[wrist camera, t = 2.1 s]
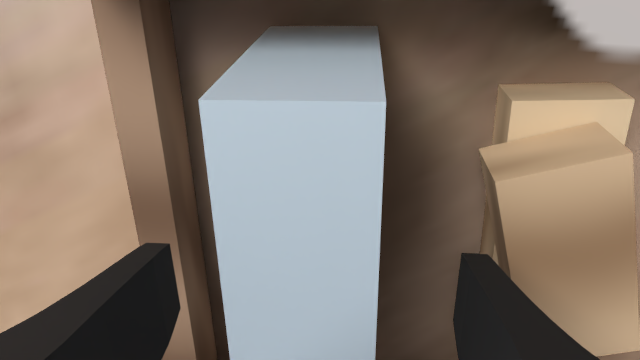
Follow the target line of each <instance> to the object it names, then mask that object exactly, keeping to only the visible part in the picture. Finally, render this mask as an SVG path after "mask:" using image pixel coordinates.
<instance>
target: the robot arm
mask: <svg viewBox="0 0 640 360" xmlns="http://www.w3.org/2000/svg"><path fill="white" fill-rule="evenodd" d="M180 309H181V307H180V301H179V295H178V289H177V283H176V277H175V271H174V266H173V260H172V254H171V248H170V243H145V244H143V245H142V246H140V247H138V248H137V249H135V250H134V251H132V252H131V253H129V254H128V255H126V256H125V257H123V258H122V259H120V260H119V261H118V262H116V263H115V264H113V265H112V266H110V267H109V268H108V269H106V270H105V271H103V272H102V273H100V274H99V275H97V276H96V277H94V278H93V279H91V280H90V281H88V282H87V283H86V284H84V285H83V286H81V287H80V288H78V289H76V290H75V291H73V292H72V293H70V294H68V295H67V296H65V297H64V298H62V299H60V300H59V301H57V302H56V303H54V304H52V305H51V306H49V307H48V308H46V309H44V310H43V311H41V312H39V313H38V314H36V315H34V316H32V317H30V318H29V319H27V320H25V321H23V322H21V323H19V324H18V325H16V326H14V327H12V328H10V329H8V330H6V331H4V332H2V333H0V360H162V358H163V356H164V354H165V351H166V349H167V347H168V345H169V342H170V340H171V337H172V334H173V331H174V328H175V325H176V322H177V318H178V315H179V312H180ZM453 322H454V330H455V338H456V345H457V352H458V358H459V360H600V359H598V358H597V357H596V356H594V355H593V354H592V353H590V352H589V351H588V350H586V349H585V348H584V347H583V346H581V345H580V344H579V343H578V342H576V341H575V340H574V339H573V338H572V337H570V336H569V335H568V334H567V333H566V332H565V331H564V330H562V329H561V328H560V327H559V326H558V325H557V324H556V323H555V322H553V321H552V320H551V319H550V318H549V317H548V316H547V315H546V314H545V313H544V312H543V311H542V310H541V309H540V308H538V307H537V306H536V305H535V304H534V303H533V302H532V301H531V300H530V299H529V298H528V297H527V296H526V295H525V293H524V292H523V291H522V290H521V289H520V288H519V287H518V286H517V285H516V284H515V283H514V282H513V281H512V280H511V279H510V278H509V277H508V275H507V274H506V273H505V272H504V271H503V270H502V269H501V268H500V267H499V266H498V265H497V263H496V262H495V261H494V260H493V259H492V258H491V257H490V256H489V255H488V254H469V253H462V255H461V263H460V271H459V278H458V286H457V294H456V302H455V310H454V318H453Z"/></svg>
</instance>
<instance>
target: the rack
mask: <svg viewBox="0 0 640 360" xmlns="http://www.w3.org/2000/svg"><path fill="white" fill-rule="evenodd" d="M91 3H92V8H93V13H94V18H95V23H96V28H97V33H98V38H99V43H100V48H101V53H102V58H103V63H104V68H105V74H106V79H107V84H108V89H109V94H110V99H111V104H112V109H113V114H114V119H115V124H116V129H117V134H118V139H119V144H120V149H121V154H122V159H123V164H124V169H125V174H126V179H127V184H128V189H129V194H130V199H131V204H132V210H133V215H134V220H135V225H136V230H137V235H138V240H139V245H140V246H142V245H143V244H145V243H170V248H171V254H172V260H173V266H174V271H175V277H176V283H177V289H178V295H179V301H180V307H181V309H180V312H179V315H178V318H177V322H176V325H175V328H174V331H173V334H172V337H171V340H170V342H169V345H168V347H167V349H166V351H165V354H164V356H163V358H162V360H218V359H217V352H216V345H215V337H214V330H213V323H212V315H211V308H210V301H209V293H208V286H207V278H206V271H205V264H204V256H203V249H202V242H201V234H200V227H199V220H198V212H197V205H196V197H195V190H194V183H193V175H192V168H191V161H190V153H189V146H188V139H187V131H186V124H185V116H184V109H183V102H182V94H181V87H180V80H179V72H178V65H177V58H176V50H175V43H174V36H173V28H172V21H171V13H170V6H169V0H91Z"/></svg>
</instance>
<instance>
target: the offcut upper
mask: <svg viewBox="0 0 640 360" xmlns="http://www.w3.org/2000/svg"><path fill="white" fill-rule="evenodd" d="M479 155H480V161H481V166H482V172H483V178H484V183H485V189H486V195H487V201H488V206H489V212H490V218H491V223H492V229H493V235H494V241H495V246H496V252H497V258H498V263H499V267H500V268H501V269H502V270H503V271H504V272H505V273H506V274H507V275H508V277H509V278H510V279H511V280H512V281H513V282H514V283H515V284H516V285H517V286H518V287H519V288H520V289H521V290H522V291H523V292H524V293H525V295H526V296H527V297H528V298H529V299H530V300H531V301H532V302H533V303H534V304H535V305H536V306H537V307H538V308H540V309H541V310H542V311H543V312H544V313H545V314H546V315H547V316H548V317H549V318H550V319H551V320H552V321H553V322H555V323H556V324H557V325H558V326H559V327H560V328H561V329H562V330H564V331H565V332H566V333H567V334H568V335H569V336H570V337H572V338H573V339H574V340H575V341H576V342H578V343H579V344H580V345H581V346H583V347H584V348H585V349H586V350H588V351H589V352H590V353H592V354H593V355H594V356H596V357H598V356H605V355H612V354H619V353H625V352H632V351H639V350H640V327H639V301H638V275H637V249H636V222H635V196H634V170H633V152H631V151H630V150H629V149H628V148H627V147H626V146H624V145H623V144H622V143H621V142H620V141H619V140H618V139H616V138H615V137H614V136H613V135H612V134H611V133H609V132H608V131H607V130H606V129H605V128H604V127H602V126H601V125H600V124H599V123H598V122H593V123H589V124H585V125H580V126H576V127H571V128H567V129H563V130H558V131H554V132H549V133H545V134H541V135H536V136H532V137H528V138H523V139H519V140H514V141H510V142H506V143H501V144H497V145H492V146H488V147H484V148H479Z"/></svg>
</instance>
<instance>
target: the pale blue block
mask: <svg viewBox="0 0 640 360" xmlns="http://www.w3.org/2000/svg"><path fill="white" fill-rule="evenodd" d="M198 101H199V110H200V118H201V126H202V134H203V142H204V151H205V159H206V167H207V175H208V183H209V192H210V200H211V208H212V216H213V224H214V233H215V241H216V249H217V257H218V265H219V274H220V282H221V290H222V298H223V306H224V315H225V323H226V331H227V339H228V347H229V355H230V360H375V352H376V329H377V306H378V282H379V259H380V236H381V213H382V189H383V166H384V143H385V120H386V95H385V86H384V77H383V68H382V60H381V51H380V42H379V33H378V26H270V27H269V28H268V29H267V30H266V31H265V32H264V33H263V34H262V35H261V36H260V37H259V38H258V39H257V40H256V41H255V42H254V43H253V44H252V45H251V46H250V47H249V48H248V49H247V50H246V51H245V52H244V53H243V54H242V55H241V56H240V58H239V59H238V60H237V61H236V62H235V63H234V64H233V65H232V66H231V67H230V68H229V69H228V70H227V71H226V72H225V73H224V74H223V75H222V76H221V77H220V78H219V79H218V80H217V81H216V82H215V83H214V84H213V85H212V86H211V87H210V88H209V89H208V90H207V91H206V93H205V94H204V95H203V96H202V97H201V98H200V99H199V100H198Z"/></svg>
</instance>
